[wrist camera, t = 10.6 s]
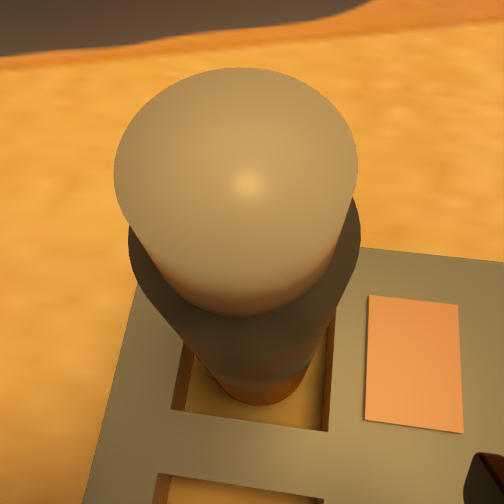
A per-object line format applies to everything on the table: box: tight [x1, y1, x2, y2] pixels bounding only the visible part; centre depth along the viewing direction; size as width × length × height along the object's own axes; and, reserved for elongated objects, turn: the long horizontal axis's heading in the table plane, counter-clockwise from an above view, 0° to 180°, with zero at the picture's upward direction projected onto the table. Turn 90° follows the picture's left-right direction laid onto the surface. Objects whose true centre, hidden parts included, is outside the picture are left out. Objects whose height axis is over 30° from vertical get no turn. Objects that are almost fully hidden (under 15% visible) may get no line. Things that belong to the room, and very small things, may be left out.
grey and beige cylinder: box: [114, 68, 361, 406], centre depth 12 cm, size 4×4×14 cm
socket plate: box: [82, 247, 504, 504], centre depth 16 cm, size 16×14×3 cm
